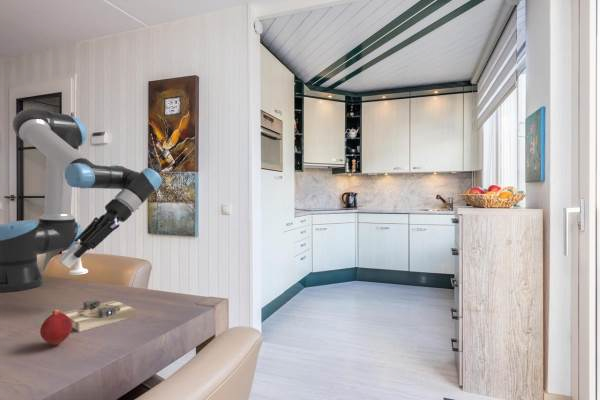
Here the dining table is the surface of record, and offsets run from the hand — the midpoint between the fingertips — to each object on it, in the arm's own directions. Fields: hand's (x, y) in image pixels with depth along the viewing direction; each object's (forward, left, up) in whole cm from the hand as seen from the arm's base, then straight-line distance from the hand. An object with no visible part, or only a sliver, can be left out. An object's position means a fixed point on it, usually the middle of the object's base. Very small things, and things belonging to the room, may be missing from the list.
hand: (63, 264), depth 98 cm
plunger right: (+18, +4, -11) cm, 22 cm away
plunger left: (+10, +4, -11) cm, 15 cm away
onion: (+24, -9, -14) cm, 29 cm away
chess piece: (0, +4, -3) cm, 5 cm away
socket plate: (+14, +4, -13) cm, 20 cm away
